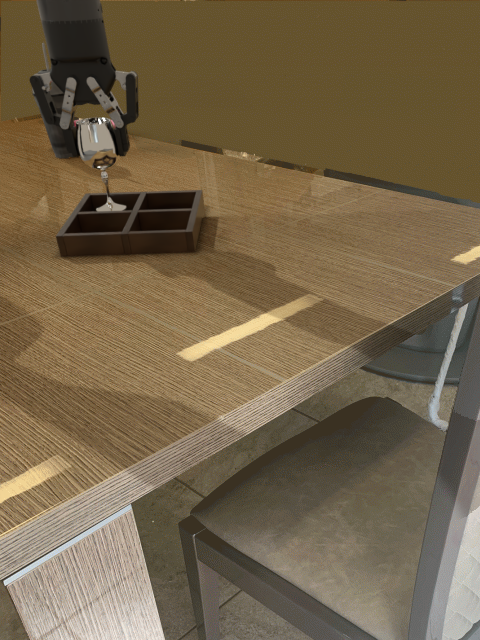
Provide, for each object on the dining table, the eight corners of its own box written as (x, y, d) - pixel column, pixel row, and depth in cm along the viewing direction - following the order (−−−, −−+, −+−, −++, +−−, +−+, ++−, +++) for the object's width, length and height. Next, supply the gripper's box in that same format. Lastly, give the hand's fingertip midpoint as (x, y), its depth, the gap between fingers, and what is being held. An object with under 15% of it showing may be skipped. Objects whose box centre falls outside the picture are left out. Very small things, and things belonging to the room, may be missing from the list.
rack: (63, 265, 87) (55, 236, 84) (91, 219, 101) (85, 193, 98) (196, 260, 88) (192, 231, 85) (205, 216, 102) (202, 189, 99)
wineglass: (102, 201, 98) (84, 115, 91) (137, 203, 97) (121, 117, 90) (84, 213, 94) (63, 125, 86) (120, 216, 93) (102, 126, 85)
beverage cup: (75, 148, 135) (50, 38, 123) (91, 155, 131) (67, 42, 119) (42, 155, 131) (13, 42, 119) (57, 162, 127) (29, 46, 115)
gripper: (3, 19, 77) (41, 164, 87) (123, 17, 78) (147, 161, 88) (22, 13, 83) (55, 150, 93) (134, 11, 84) (155, 147, 94)
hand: (100, 155), depth 91 cm, fingers closed on wineglass, 6 cm apart
